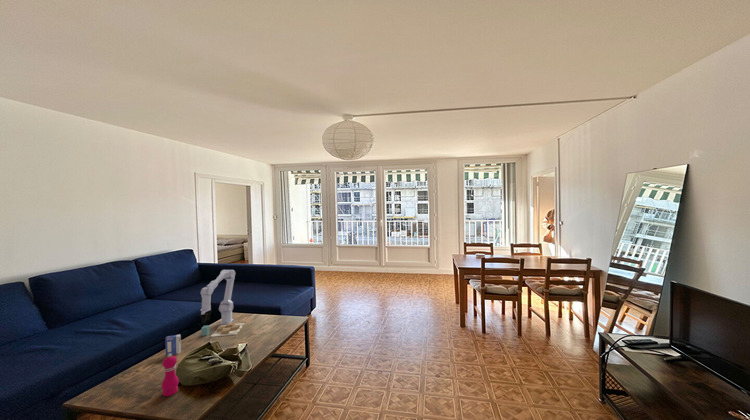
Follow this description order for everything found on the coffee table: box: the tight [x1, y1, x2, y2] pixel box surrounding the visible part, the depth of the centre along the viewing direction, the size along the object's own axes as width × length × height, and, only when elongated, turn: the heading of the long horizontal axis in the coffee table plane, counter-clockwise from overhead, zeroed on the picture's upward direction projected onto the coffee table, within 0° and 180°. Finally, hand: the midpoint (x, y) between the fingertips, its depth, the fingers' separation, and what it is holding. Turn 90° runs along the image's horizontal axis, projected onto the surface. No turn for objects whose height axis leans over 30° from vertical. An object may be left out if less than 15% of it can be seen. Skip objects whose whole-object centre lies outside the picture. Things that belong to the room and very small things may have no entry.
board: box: [210, 321, 245, 338], centre depth 218 cm, size 20×18×3 cm
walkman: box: [164, 333, 182, 357], centre depth 183 cm, size 8×3×12 cm, turn 110°
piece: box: [200, 324, 211, 337], centre depth 211 cm, size 4×4×6 cm
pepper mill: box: [161, 354, 180, 397], centre depth 144 cm, size 7×7×20 cm
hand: (205, 321), depth 211 cm, fingers open, 7 cm apart
